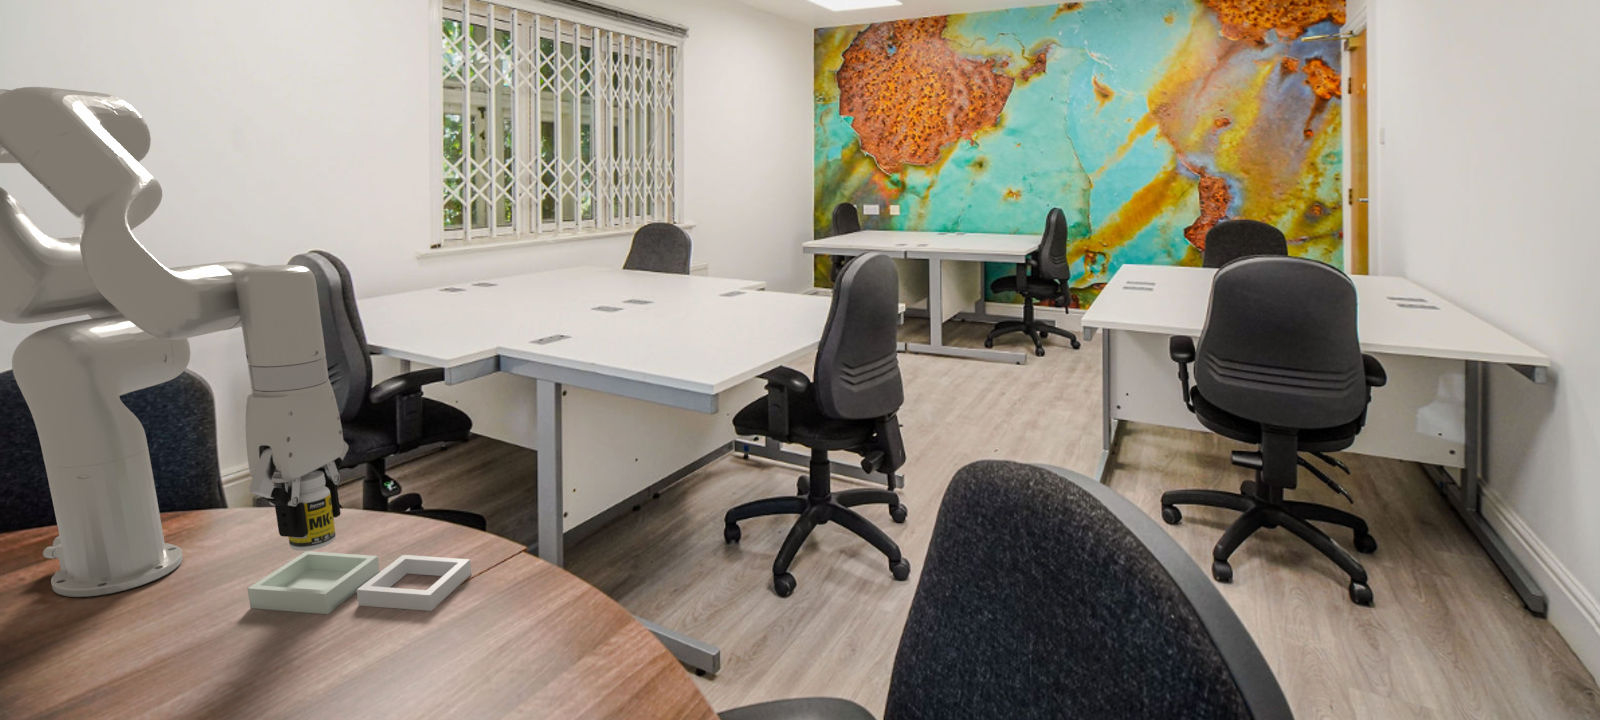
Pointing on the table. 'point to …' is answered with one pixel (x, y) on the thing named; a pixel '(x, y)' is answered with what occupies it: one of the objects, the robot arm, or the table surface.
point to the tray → (313, 582)
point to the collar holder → (384, 596)
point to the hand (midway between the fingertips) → (310, 524)
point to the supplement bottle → (315, 513)
